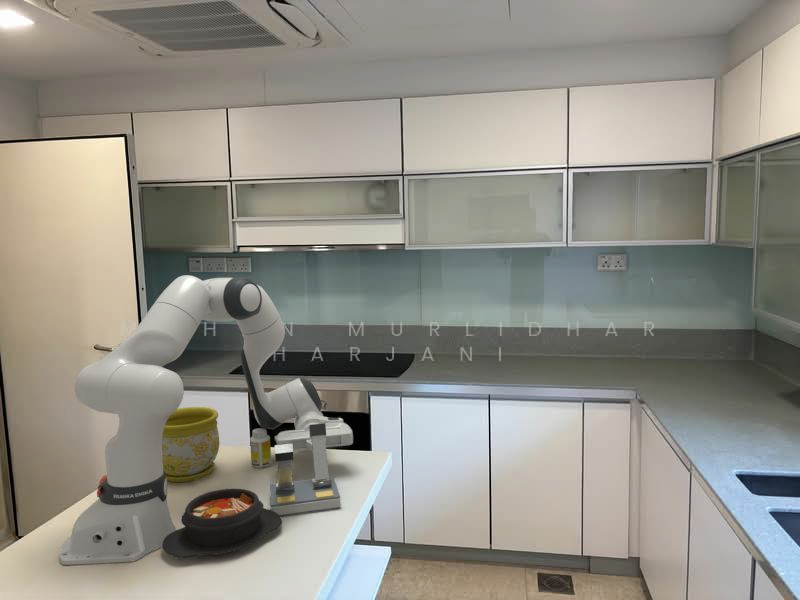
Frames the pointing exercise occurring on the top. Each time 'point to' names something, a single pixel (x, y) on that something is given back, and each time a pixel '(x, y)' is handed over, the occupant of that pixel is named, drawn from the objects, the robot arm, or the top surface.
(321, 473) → the lever right
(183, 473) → the flowerpot
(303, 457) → the top surface
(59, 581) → the top surface
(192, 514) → the casserole
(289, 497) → the switch unit
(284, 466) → the lever left
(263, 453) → the supplement bottle
